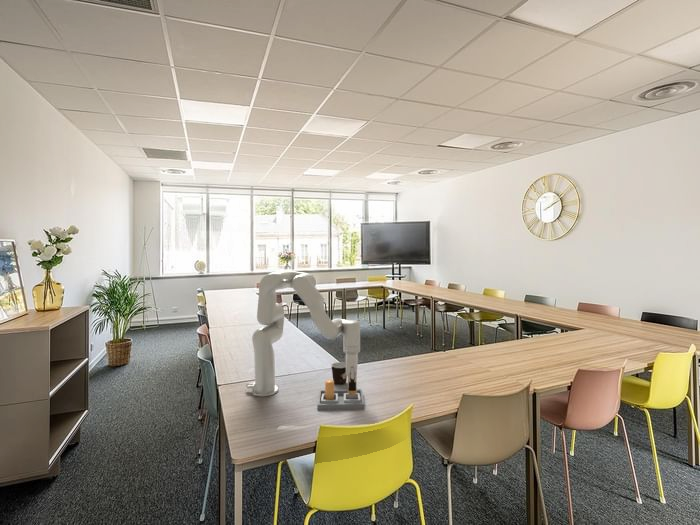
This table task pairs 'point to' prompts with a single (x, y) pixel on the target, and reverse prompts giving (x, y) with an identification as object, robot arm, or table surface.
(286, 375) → the table surface
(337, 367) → the coffee mug
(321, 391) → the grey pin holder tray
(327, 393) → the pin
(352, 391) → the pin
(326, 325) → the robot arm
